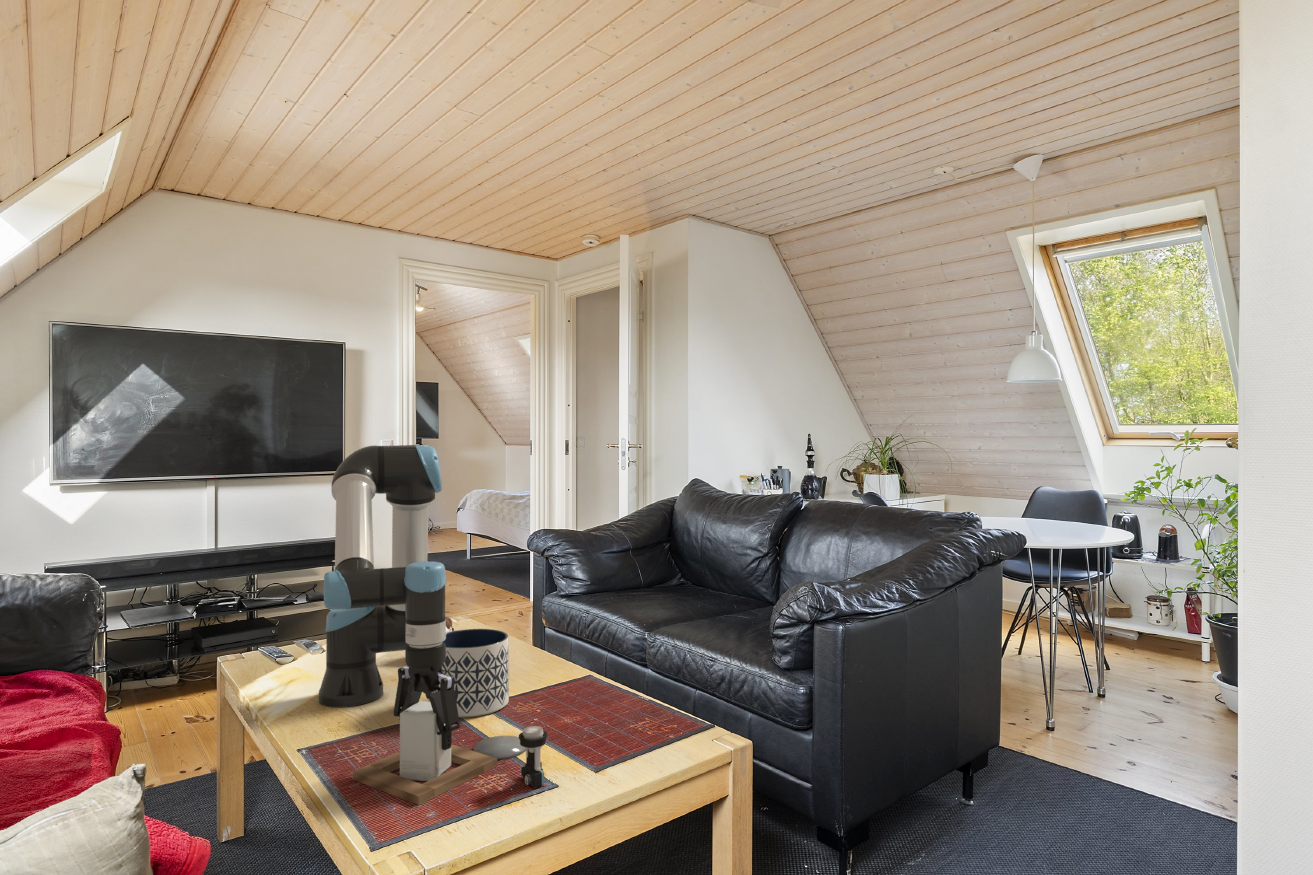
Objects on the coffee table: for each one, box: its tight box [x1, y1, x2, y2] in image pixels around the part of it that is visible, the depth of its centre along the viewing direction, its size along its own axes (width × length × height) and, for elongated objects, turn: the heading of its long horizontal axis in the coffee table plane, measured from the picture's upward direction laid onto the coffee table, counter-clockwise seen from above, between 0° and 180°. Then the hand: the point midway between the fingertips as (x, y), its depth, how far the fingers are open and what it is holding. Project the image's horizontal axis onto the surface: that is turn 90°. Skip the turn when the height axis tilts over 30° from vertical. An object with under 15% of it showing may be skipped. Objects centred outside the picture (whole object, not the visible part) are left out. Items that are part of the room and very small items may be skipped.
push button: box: [518, 725, 549, 789], centre depth 142 cm, size 7×5×10 cm
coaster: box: [473, 735, 526, 761], centre depth 157 cm, size 11×11×1 cm
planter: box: [432, 628, 510, 719], centre depth 183 cm, size 18×18×16 cm
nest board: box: [352, 744, 498, 806], centre depth 146 cm, size 19×19×2 cm
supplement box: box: [399, 700, 452, 782], centre depth 146 cm, size 7×7×13 cm
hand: (426, 759), depth 146 cm, fingers closed on supplement box, 9 cm apart
